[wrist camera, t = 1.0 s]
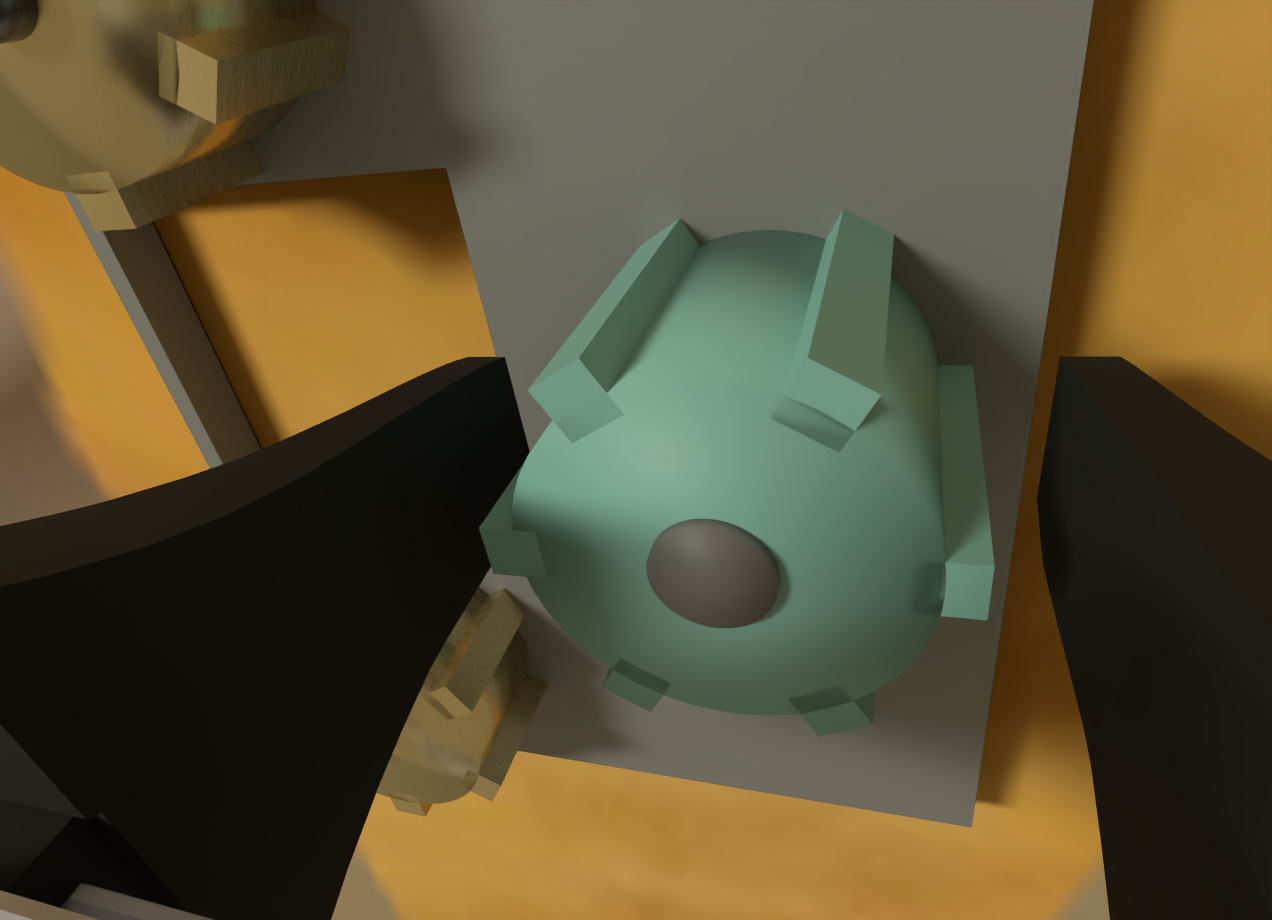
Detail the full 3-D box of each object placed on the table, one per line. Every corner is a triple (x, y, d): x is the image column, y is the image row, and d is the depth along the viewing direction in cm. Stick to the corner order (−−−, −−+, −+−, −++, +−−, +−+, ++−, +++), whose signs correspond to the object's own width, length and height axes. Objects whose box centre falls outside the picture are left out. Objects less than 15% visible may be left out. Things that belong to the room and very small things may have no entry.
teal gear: (956, 533, 12) (970, 769, 9) (620, 512, 14) (527, 704, 11) (988, 200, 9) (1024, 366, 6) (564, 224, 11) (417, 364, 8)
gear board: (969, 783, 17) (980, 989, 14) (364, 690, 21) (269, 827, 18) (1198, -877, 6) (1515, -1761, 3) (-136, -329, 10) (-582, -418, 7)
